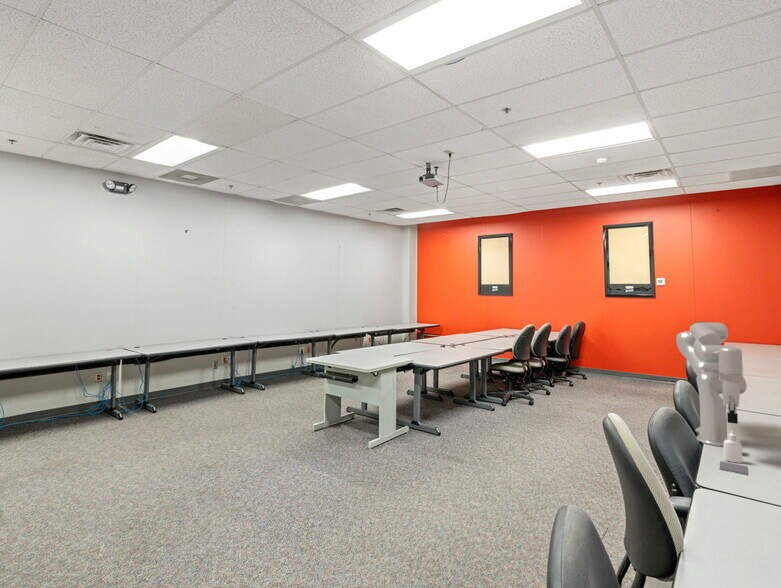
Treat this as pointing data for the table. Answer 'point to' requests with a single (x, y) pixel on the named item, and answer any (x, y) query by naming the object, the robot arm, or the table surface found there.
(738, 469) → the mat
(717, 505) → the table surface
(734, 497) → the table surface
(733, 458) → the eye dropper bottle
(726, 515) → the table surface
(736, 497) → the table surface
